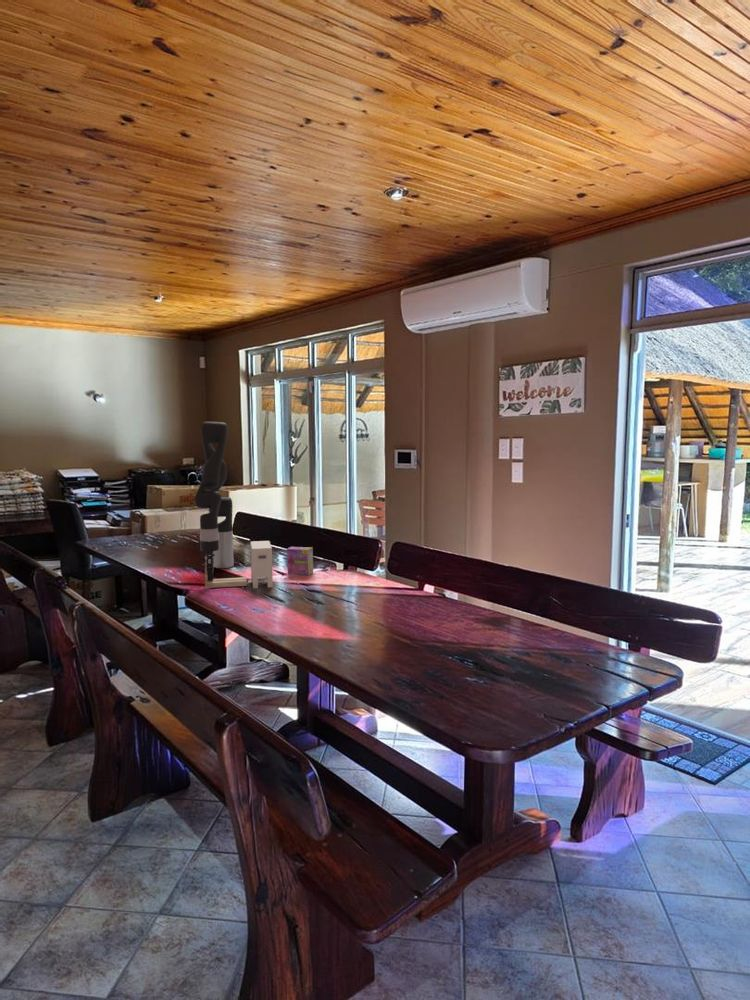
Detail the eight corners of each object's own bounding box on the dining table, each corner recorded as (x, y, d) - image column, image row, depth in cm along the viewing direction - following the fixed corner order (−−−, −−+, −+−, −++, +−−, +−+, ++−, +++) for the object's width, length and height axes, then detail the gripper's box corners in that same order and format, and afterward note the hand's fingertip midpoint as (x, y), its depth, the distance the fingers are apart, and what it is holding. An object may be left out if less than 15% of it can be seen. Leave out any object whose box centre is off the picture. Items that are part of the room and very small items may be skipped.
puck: (255, 582, 274) (255, 577, 274) (267, 581, 275) (267, 577, 275) (256, 585, 269) (256, 580, 269) (268, 584, 270) (267, 579, 270)
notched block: (251, 578, 280) (250, 541, 278) (269, 577, 282) (269, 540, 280) (253, 588, 262) (252, 549, 260) (272, 587, 264) (271, 548, 262)
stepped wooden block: (205, 584, 271) (205, 565, 270) (246, 581, 274) (246, 563, 273) (205, 588, 264) (204, 569, 263) (247, 585, 268) (246, 566, 267)
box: (287, 574, 289) (286, 548, 287) (292, 571, 294) (292, 546, 293) (308, 575, 286) (308, 549, 284) (313, 572, 291) (313, 547, 290)
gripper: (200, 536, 272) (202, 576, 273) (199, 542, 258) (200, 584, 260) (218, 536, 273) (220, 575, 275) (218, 541, 260) (219, 583, 261)
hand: (210, 579), depth 267 cm, fingers closed on stepped wooden block, 3 cm apart
